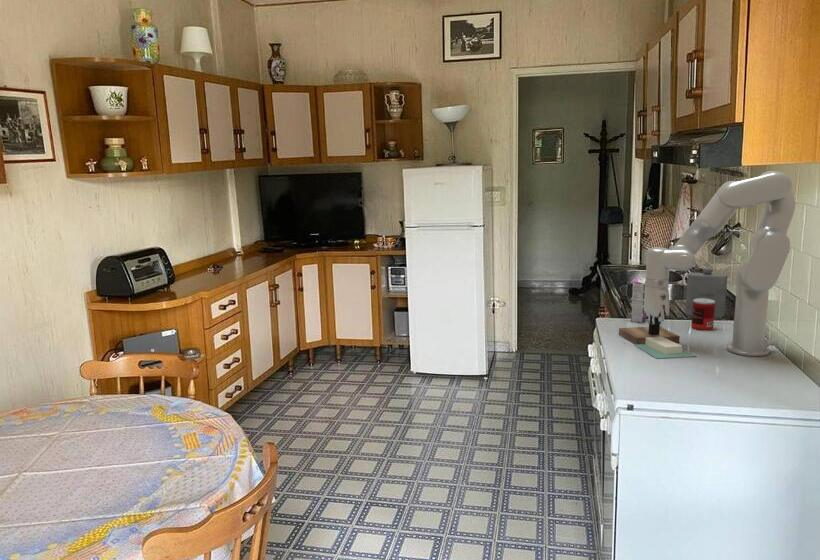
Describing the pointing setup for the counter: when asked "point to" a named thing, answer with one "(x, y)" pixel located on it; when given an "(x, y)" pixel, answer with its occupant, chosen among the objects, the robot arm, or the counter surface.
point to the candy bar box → (638, 301)
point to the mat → (661, 355)
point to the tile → (663, 345)
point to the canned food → (703, 314)
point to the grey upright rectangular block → (706, 290)
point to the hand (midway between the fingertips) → (653, 334)
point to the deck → (646, 334)
